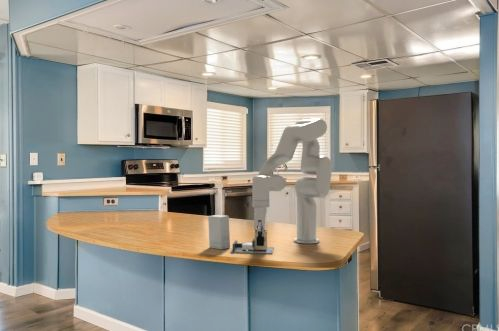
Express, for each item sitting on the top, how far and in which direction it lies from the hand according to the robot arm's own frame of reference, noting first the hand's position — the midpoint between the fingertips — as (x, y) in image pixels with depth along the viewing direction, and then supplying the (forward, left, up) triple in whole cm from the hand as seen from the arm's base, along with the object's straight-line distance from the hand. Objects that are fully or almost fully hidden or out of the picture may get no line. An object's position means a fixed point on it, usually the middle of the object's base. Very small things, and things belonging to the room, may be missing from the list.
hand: (260, 244), depth 189 cm
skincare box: (-4, -20, -3) cm, 20 cm away
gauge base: (0, -5, -3) cm, 5 cm away
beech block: (0, 0, -2) cm, 2 cm away
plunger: (+1, -5, -2) cm, 6 cm away
